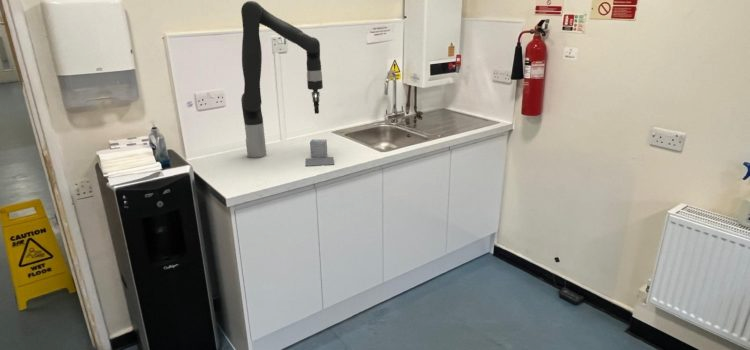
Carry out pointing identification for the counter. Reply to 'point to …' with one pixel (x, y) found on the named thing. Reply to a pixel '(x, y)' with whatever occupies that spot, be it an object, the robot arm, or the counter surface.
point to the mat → (319, 161)
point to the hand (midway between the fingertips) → (316, 113)
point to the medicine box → (318, 148)
